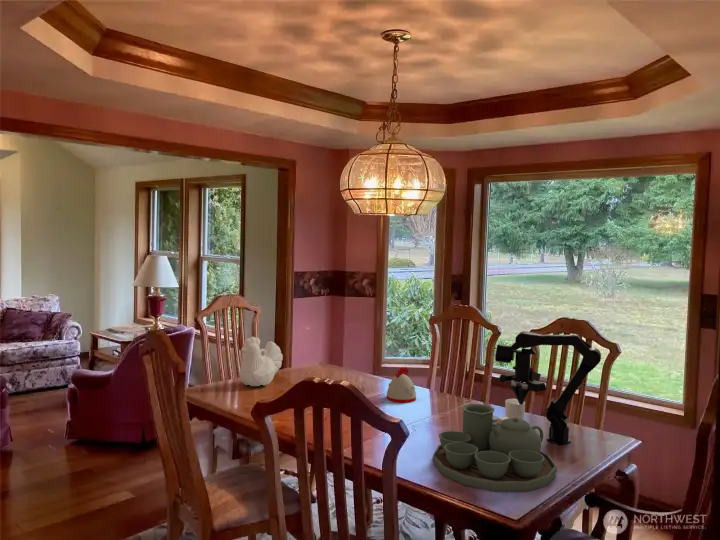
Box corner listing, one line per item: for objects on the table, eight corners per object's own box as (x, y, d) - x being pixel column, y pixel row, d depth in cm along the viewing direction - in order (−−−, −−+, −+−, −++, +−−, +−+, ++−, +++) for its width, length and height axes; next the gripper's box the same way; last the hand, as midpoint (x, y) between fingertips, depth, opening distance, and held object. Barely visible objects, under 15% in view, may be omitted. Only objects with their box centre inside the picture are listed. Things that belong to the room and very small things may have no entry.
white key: (512, 426, 230) (512, 419, 229) (504, 428, 227) (505, 420, 227) (504, 424, 233) (504, 416, 233) (497, 425, 231) (497, 418, 231)
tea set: (409, 466, 199) (411, 418, 198) (477, 439, 227) (478, 396, 226) (515, 506, 171) (518, 450, 170) (577, 470, 199) (579, 421, 198)
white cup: (502, 426, 243) (503, 402, 242) (507, 421, 250) (508, 397, 249) (521, 429, 239) (522, 405, 238) (526, 424, 246) (527, 400, 245)
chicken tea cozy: (422, 399, 279) (423, 368, 278) (401, 404, 270) (402, 372, 269) (400, 393, 290) (401, 362, 289) (380, 398, 280) (381, 366, 280)
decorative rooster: (246, 391, 286) (247, 340, 284) (233, 384, 298) (233, 335, 297) (292, 385, 300) (293, 336, 299) (277, 378, 313) (278, 331, 312)
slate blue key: (500, 425, 235) (501, 418, 234) (493, 427, 232) (493, 419, 232) (493, 422, 238) (493, 415, 238) (486, 424, 236) (486, 416, 235)
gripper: (556, 367, 227) (554, 407, 228) (518, 357, 242) (516, 395, 243) (536, 370, 220) (534, 411, 221) (499, 360, 236) (497, 399, 237)
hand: (521, 404), depth 231 cm, fingers closed
